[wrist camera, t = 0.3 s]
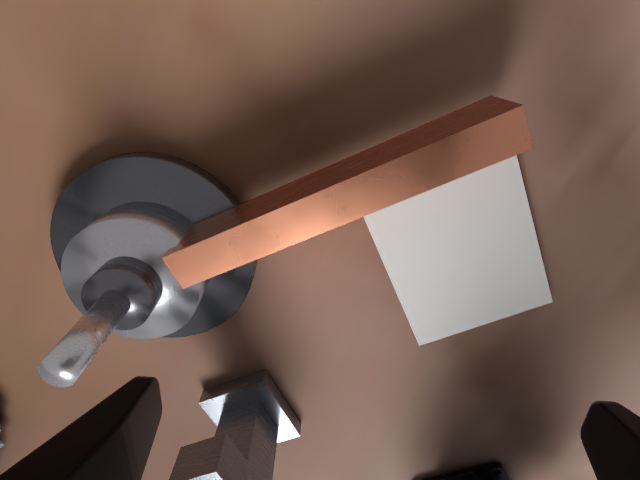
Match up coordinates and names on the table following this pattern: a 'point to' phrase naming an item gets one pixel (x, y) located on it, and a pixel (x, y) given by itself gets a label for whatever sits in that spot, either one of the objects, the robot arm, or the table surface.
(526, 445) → the table surface
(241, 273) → the chuck base
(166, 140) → the table surface
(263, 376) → the grey stepped block
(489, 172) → the mat
